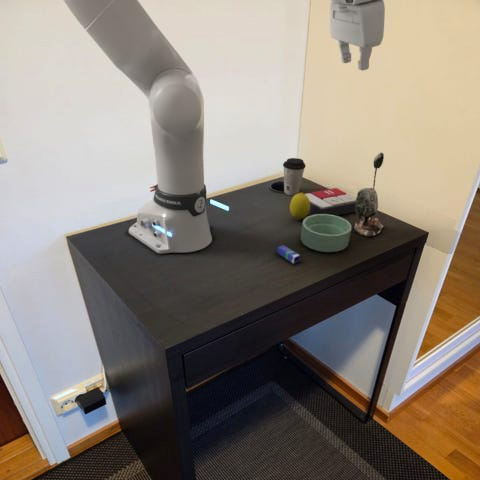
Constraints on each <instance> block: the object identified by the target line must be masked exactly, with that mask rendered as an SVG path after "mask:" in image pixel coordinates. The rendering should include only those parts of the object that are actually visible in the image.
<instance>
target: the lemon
mask: <svg viewBox="0 0 480 480" xmlns="http://www.w3.org/2000/svg"><path fill="white" fill-rule="evenodd" d="M305 194H306V193H303V192H299V193H298V194H296V195H293V196H292V198H291V200H290V203H289V213H290V214H291V216H292V217H293V218H294V219H296V220H297V221H300V220H302V219H305V218H307V217H308V215H309V214H308V213H309V210H310V201H309V198H308V197H307V196H306V195H305Z"/></svg>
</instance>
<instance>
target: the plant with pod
mask: <svg viewBox="0 0 480 480" xmlns="http://www.w3.org/2000/svg"><path fill="white" fill-rule="evenodd" d="M384 158H385V155H384V153H383V152H379V153H377V154H376V155H375V157H374V159H373V162H372V163H373V168H374V169H375V170H374V176H373V185H372V186H373V187H365V188H362V189H360V190H359V187H357V189H358V192H357V195H356V197H355V198H356V203H355V211H356V212H355V215H357V216H358V221H356V222H355V223H354V226H353V230H354V232H356V233H357V234H359V235H362V236H366V237H373V236H377V235H378V234H379V233H381V231H382V230H383V227H385V226H384V225H383V223H381V221H379V218H378V217H375V216H376V215H377V213H378V208H379V199H378V193H377V190H375V185H376V176H377V171H378V169H380V168H381V167H382V165H383V163H384ZM373 217H374V218H373Z"/></svg>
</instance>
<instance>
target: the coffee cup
mask: <svg viewBox="0 0 480 480" xmlns="http://www.w3.org/2000/svg"><path fill="white" fill-rule="evenodd" d="M282 166H283V193H284V194H285V195H288V196H295V195H296V194H299V193H300V189H301V186H302V180H303V176H304V173H305V168H306V163H305V162H304V160H303V159H302V158H297V157H290V158H287V159H286V160H285V161H284V162H283V164H282Z"/></svg>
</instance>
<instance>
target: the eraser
mask: <svg viewBox="0 0 480 480" xmlns="http://www.w3.org/2000/svg"><path fill="white" fill-rule="evenodd" d="M277 254H278V255H279V256H281V257H282V258H284V259H285V260H286V261H289V262H290V263H292V264H293V265H294V264H296V263H299V262H300V260H301V259H300V258H301V255H300V254H299V253H298V252H295V251H293V250H292V249H290V248H289V247H288V246H286V245H284V244H282V245H280V246H277Z"/></svg>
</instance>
